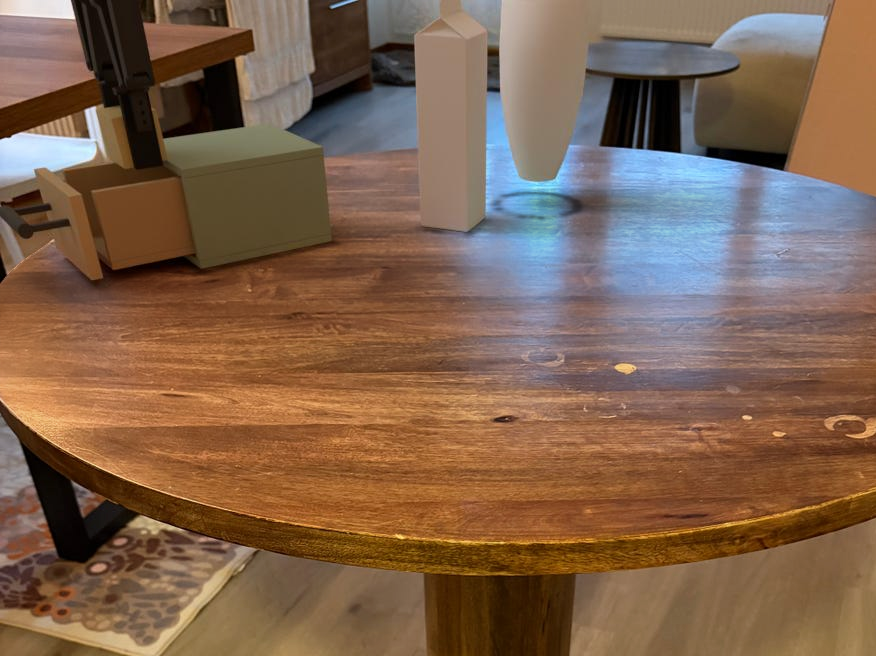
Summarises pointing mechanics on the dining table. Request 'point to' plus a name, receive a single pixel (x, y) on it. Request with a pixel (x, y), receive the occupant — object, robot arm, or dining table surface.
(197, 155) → the cabinet
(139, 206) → the drawer
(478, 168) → the milk
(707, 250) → the dining table surface
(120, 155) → the block
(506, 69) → the cream tapered vase
